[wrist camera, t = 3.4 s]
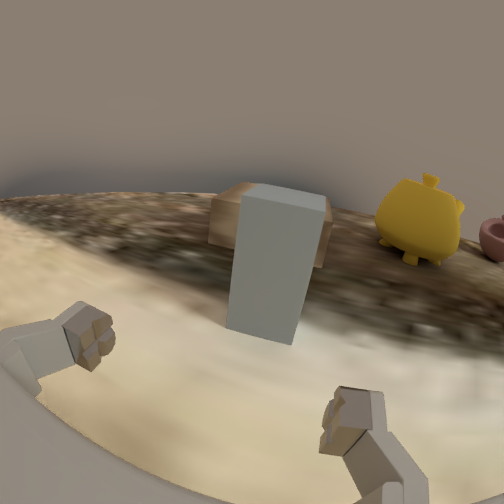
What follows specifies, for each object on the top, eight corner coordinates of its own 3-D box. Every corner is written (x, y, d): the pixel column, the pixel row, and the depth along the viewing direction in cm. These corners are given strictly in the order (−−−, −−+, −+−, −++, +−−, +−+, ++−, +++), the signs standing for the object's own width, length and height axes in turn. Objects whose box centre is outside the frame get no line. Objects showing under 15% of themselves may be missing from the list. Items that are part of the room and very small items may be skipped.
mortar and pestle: (465, 248, 52) (479, 203, 48) (484, 249, 56) (496, 210, 51) (500, 271, 42) (517, 222, 37) (515, 270, 45) (529, 227, 41)
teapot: (423, 239, 52) (439, 178, 47) (474, 273, 39) (497, 201, 33) (352, 232, 47) (369, 156, 42) (408, 276, 33) (438, 177, 28)
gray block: (298, 308, 24) (325, 196, 20) (291, 345, 20) (325, 212, 16) (244, 295, 25) (260, 183, 21) (225, 328, 20) (241, 194, 16)
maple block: (321, 233, 45) (328, 198, 43) (320, 270, 32) (333, 222, 30) (238, 216, 47) (242, 181, 45) (207, 245, 35) (211, 198, 32)
